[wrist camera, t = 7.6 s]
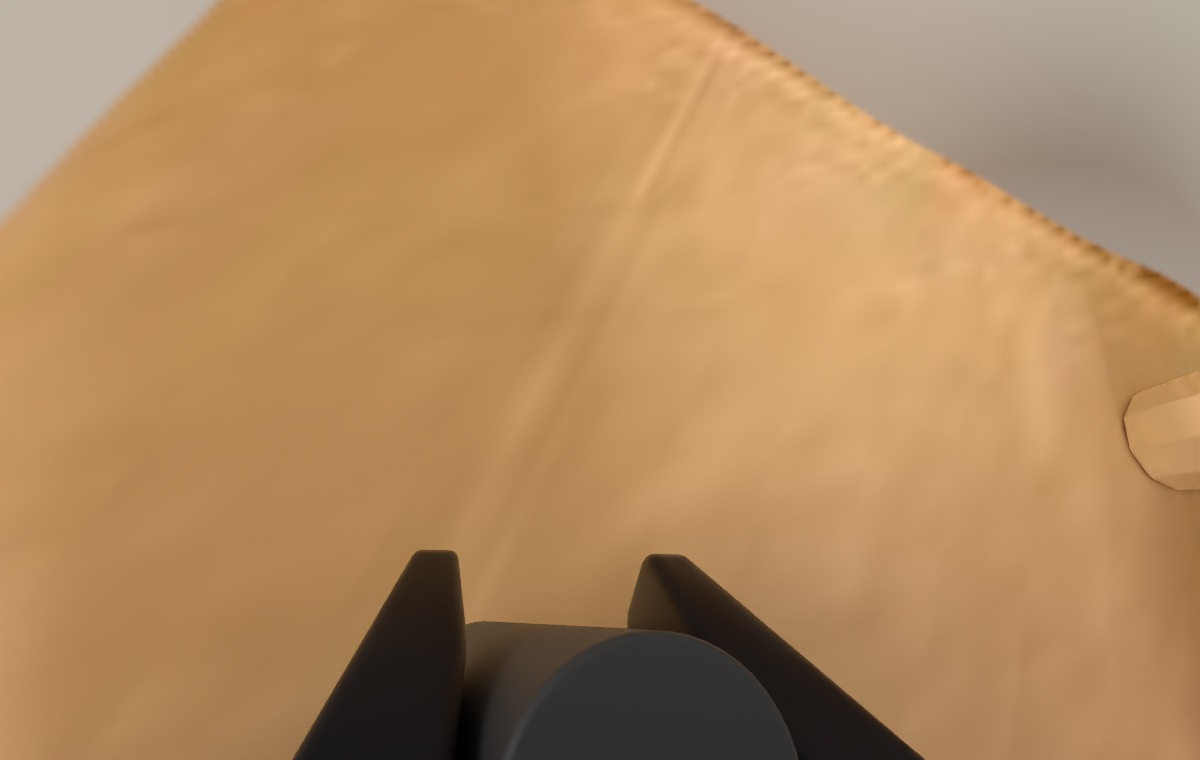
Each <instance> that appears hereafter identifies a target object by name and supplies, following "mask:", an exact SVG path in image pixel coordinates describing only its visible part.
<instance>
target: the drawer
mask: <svg viewBox="0 0 1200 760" xmlns="http://www.w3.org/2000/svg"><path fill="white" fill-rule="evenodd" d="M465 627H466V644H467V646H466V663H465V673H464V682H463V691H462V701H461V710H460V719H459V729H458V738H457V747H456V757H455V760H798V756H797V752H796V749H795V746H794V743H793V741H792V738H791V735H790V732H789V730H788V728H787V726H786V724H785V722H784V720H783V718H782V715H781V713H780V711H779V710H778V708H777V707H776V705H775V703H774V702H773V700H772V699H771V697H770V696H769V694H768V692H767V691H766V690H765V689H764V687H763V686H762V685H761V684H760V682H759V681H758V680H757V679H756V678H755V676H754V675H753V674H752V673H751V672H749V671H748V670H747V669H746V668H745V667H744V666H743V665H742V664H741V663H740V662H739V661H737V660H736V659H735V658H733V657H732V656H731V655H729V654H728V653H726V652H725V651H724V650H722V649H720V648H718V647H716V646H714V645H712V644H711V643H709V642H707V641H704V640H701V639H699V638H696V637H693V636H691V635H687V634H682V633H677V632H673V631H661V630H643V629H624V628H604V627H585V626H565V625H545V624H526V623H506V622H487V621H484V622H474V623H470V624H467V625H465Z"/></svg>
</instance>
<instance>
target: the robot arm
mask: <svg viewBox="0 0 1200 760" xmlns="http://www.w3.org/2000/svg"><path fill="white" fill-rule="evenodd" d="M628 629H643V630H661V631H673V632H677V633H682V634H687V635H691V636H693V637H696V638H699V639H701V640H704V641H707V642H709V643H711V644H712V645H714V646H716V647H718V648H720V649H722V650H724V651H725V652H726V653H728V654H729V655H731V656H732V657H733V658H735V659H736V660H737V661H739V662H740V663H741V664H742V665H743V666H744V667H745V668H746V669H747V670H748V671H749V672H751V673H752V674H753V675H754V676H755V678H756V679H757V680H758V681H759V682H760V684H761V685H762V686H763V687H764V689H765V690H766V691H767V692H768V694H769V696H770V697H771V699H772V700H773V702H774V703H775V705H776V707H777V708H778V710H779V711H780V713H781V715H782V718H783V720H784V722H785V724H786V726H787V728H788V730H789V732H790V735H791V738H792V741H793V743H794V746H795V749H796V752H797V756H798V760H925V759H924V758H923V757H921V756H920V755H919V754H918V753H917V752H915V751H914V750H913V749H912V748H911V747H910V746H908V745H907V744H906V743H905V742H904V741H902V740H901V739H900V738H899V737H898V736H897V735H895V734H894V733H893V732H892V731H891V730H890V729H888V728H887V727H886V726H885V725H884V724H882V723H881V722H880V721H879V720H878V719H877V718H875V717H874V716H873V715H872V714H871V713H869V712H868V711H867V710H866V709H865V708H864V707H862V706H861V705H860V704H859V703H858V702H856V701H855V700H854V699H853V698H852V697H851V696H849V695H848V694H847V693H846V692H845V691H844V690H842V689H841V688H840V687H839V686H838V685H836V684H835V683H834V682H833V681H832V680H831V679H829V678H828V677H827V676H826V675H825V674H823V673H822V672H821V671H820V670H819V669H818V668H816V667H815V666H814V665H813V664H812V663H810V662H809V661H808V660H807V659H806V658H805V657H803V656H802V655H801V654H800V653H799V652H798V651H796V650H795V649H794V648H793V647H792V646H790V645H789V644H788V643H787V642H786V641H785V640H783V639H782V638H781V637H780V636H779V635H777V634H776V633H775V632H774V631H773V630H772V629H770V628H769V627H768V626H767V625H766V624H764V623H763V622H762V621H761V620H760V619H759V618H757V617H756V616H755V615H754V614H753V613H752V612H750V611H749V610H748V609H747V608H746V607H744V606H743V605H742V604H741V603H740V602H739V601H737V600H736V599H735V598H734V597H733V596H731V595H730V594H729V593H728V592H727V591H726V590H724V589H723V588H722V587H721V586H720V585H718V584H717V583H716V582H715V581H714V580H713V579H711V578H710V577H709V576H708V575H707V574H706V573H704V572H703V571H702V570H701V569H700V568H698V567H697V566H696V565H695V564H694V563H693V562H691V561H690V560H689V559H688V558H686V557H685V556H682V555H678V554H651V555H649V556H647V557H646V558H645V560H644V561H643V563H642V566H641V569H640V573H639V576H638V580H637V583H636V587H635V590H634V594H633V597H632V601H631V604H630V608H629V612H628ZM466 646H467V644H466V627H465V618H464V608H463V599H462V589H461V580H460V571H459V561H458V556H457V554H456V553H455V552H454V551H450V550H419V551H417V552H416V553H415V554H414V555H413V556H412V557H411V559H410V561H409V562H408V564H407V566H406V568H405V569H404V571H403V573H402V574H401V576H400V578H399V579H398V581H397V583H396V585H395V586H394V588H393V590H392V591H391V593H390V595H389V596H388V598H387V600H386V602H385V603H384V605H383V607H382V608H381V610H380V612H379V613H378V615H377V617H376V619H375V620H374V622H373V624H372V625H371V627H370V629H369V630H368V632H367V634H366V636H365V637H364V639H363V641H362V642H361V644H360V646H359V647H358V649H357V651H356V653H355V654H354V656H353V658H352V659H351V661H350V663H349V664H348V666H347V668H346V670H345V671H344V673H343V675H342V676H341V678H340V680H339V681H338V683H337V685H336V687H335V688H334V690H333V692H332V693H331V695H330V697H329V698H328V700H327V702H326V703H325V705H324V707H323V709H322V710H321V712H320V714H319V715H318V717H317V719H316V720H315V722H314V724H313V726H312V727H311V729H310V731H309V732H308V734H307V736H306V737H305V739H304V741H303V743H302V744H301V746H300V748H299V749H298V751H297V753H296V754H295V756H294V758H293V760H455V757H456V747H457V738H458V729H459V719H460V710H461V701H462V691H463V682H464V673H465V663H466Z"/></svg>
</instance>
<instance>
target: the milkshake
mask: <svg viewBox="0 0 1200 760" xmlns="http://www.w3.org/2000/svg"><path fill="white" fill-rule="evenodd" d="M1124 423H1125V428H1126V432H1127V437H1128V442H1129V447H1130V450H1131V452H1132V453H1133V454H1134V456H1135V457H1136V459H1137V460H1138V461H1139V463H1140V464H1141V465H1142V467H1143V468H1144V470H1145V471H1146V472H1147V474H1148V475H1149V477H1151V478H1153V479H1155V480H1157V481H1159V482H1161V483H1163V484H1165V485H1167V486H1169V487H1171V488H1173V489H1175V490H1190V489H1200V370H1199V371H1196V372H1193V373H1190V374H1188V375H1185V376H1182V377H1180V378H1177V379H1174V380H1172V381H1169V382H1166V383H1163V384H1161V385H1158V386H1155V387H1153V388H1150V389H1147V390H1145V391H1142V392H1139V393H1137V394H1135V395H1133V397H1132V399H1131V402H1130V404H1129V407H1128V409H1127V411H1126V414H1125V416H1124Z"/></svg>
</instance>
